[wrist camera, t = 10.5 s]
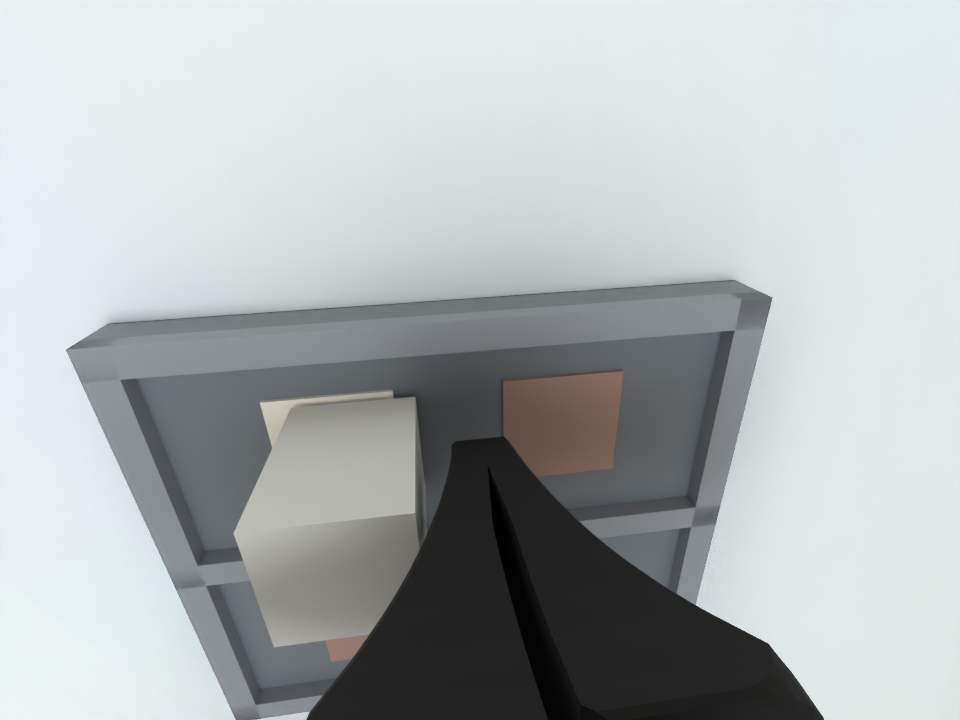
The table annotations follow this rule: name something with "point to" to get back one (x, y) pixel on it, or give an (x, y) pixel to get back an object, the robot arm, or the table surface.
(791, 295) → the table surface
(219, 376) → the grey sorting tray
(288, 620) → the tab
